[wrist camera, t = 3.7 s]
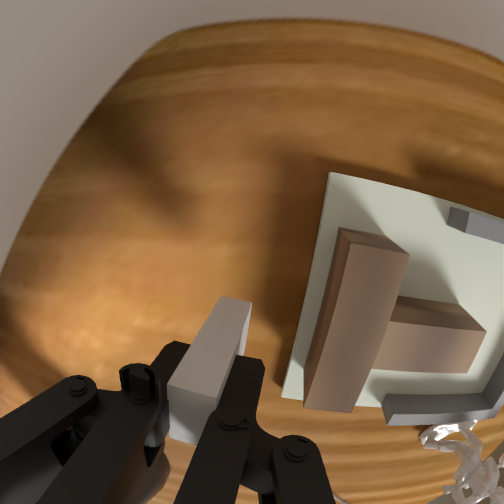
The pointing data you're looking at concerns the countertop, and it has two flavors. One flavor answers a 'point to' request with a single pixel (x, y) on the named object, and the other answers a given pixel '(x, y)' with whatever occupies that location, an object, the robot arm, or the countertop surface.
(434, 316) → the t block
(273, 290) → the countertop surface
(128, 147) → the countertop surface
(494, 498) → the figurine
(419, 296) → the board
